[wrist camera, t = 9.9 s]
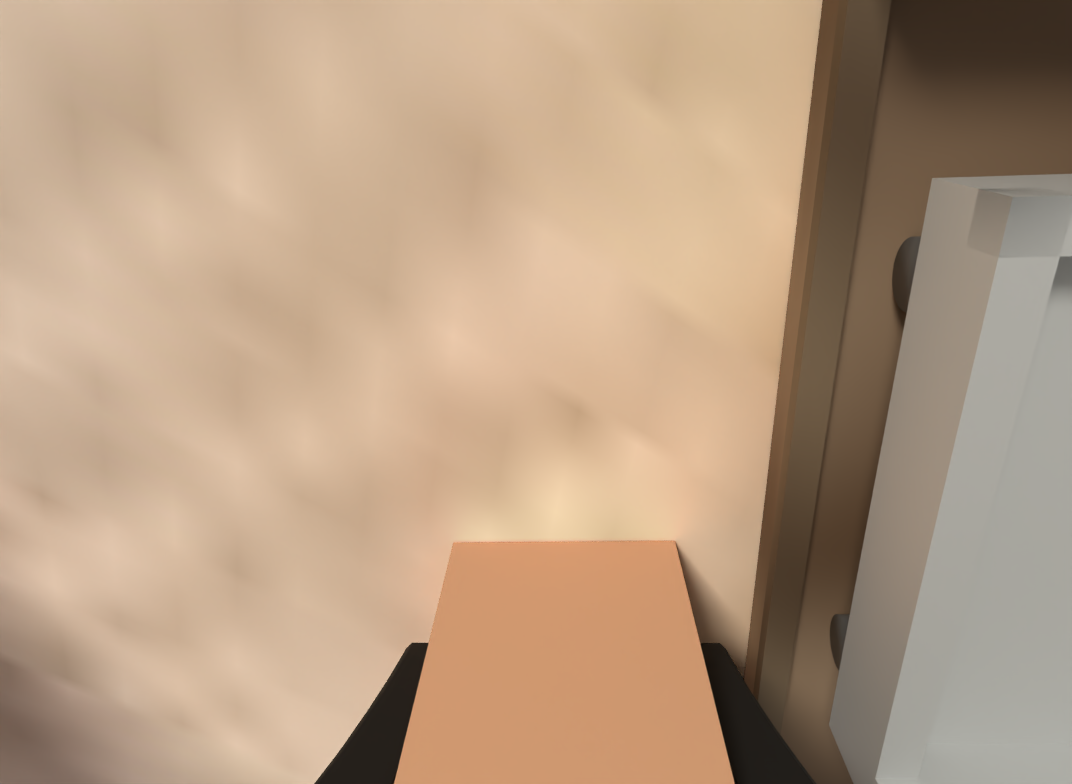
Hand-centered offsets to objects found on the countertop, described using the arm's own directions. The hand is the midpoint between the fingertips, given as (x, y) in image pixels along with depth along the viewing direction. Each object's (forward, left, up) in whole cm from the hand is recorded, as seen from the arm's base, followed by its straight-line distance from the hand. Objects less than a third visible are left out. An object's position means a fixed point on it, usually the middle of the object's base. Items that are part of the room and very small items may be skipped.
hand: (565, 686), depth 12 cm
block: (0, 0, -1) cm, 1 cm away
